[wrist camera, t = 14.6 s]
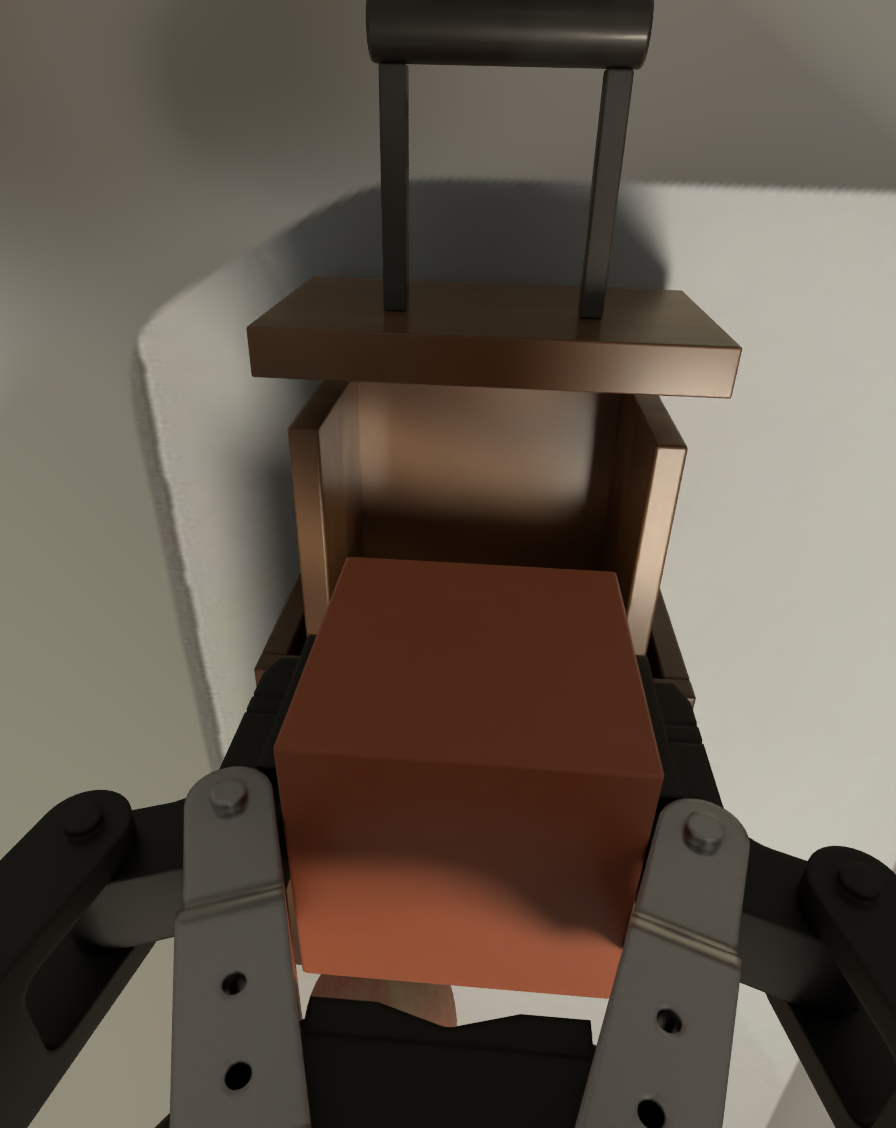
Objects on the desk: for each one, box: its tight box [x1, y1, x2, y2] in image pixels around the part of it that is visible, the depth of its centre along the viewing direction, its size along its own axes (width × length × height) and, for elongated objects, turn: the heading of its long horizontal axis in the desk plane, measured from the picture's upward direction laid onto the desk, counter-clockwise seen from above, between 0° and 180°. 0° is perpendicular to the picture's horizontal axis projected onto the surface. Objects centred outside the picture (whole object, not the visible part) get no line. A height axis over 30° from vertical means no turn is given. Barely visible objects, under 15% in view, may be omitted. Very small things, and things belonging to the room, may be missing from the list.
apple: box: [305, 974, 457, 1027], centre depth 39 cm, size 8×8×8 cm
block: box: [273, 557, 664, 999], centre depth 13 cm, size 5×5×5 cm
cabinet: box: [254, 571, 696, 965], centre depth 28 cm, size 15×13×9 cm
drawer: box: [246, 0, 742, 655], centre depth 22 cm, size 20×11×7 cm, turn 179°
